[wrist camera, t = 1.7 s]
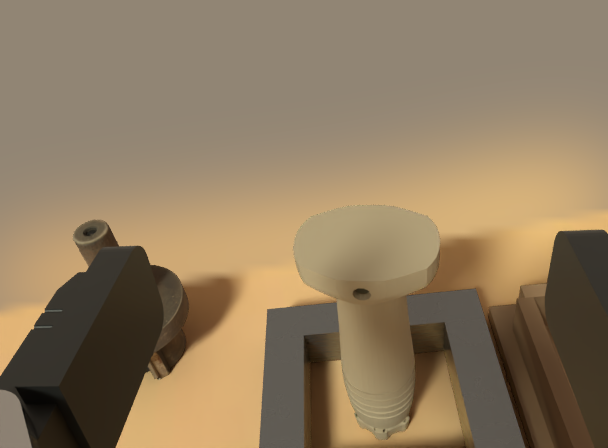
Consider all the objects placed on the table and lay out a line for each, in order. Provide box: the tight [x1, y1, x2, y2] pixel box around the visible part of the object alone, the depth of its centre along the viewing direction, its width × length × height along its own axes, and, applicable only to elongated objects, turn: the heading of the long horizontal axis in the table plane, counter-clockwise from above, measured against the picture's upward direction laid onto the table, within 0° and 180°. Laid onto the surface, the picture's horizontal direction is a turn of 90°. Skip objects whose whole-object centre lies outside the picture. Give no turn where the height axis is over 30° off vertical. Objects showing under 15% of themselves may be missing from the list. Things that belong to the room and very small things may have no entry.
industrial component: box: [73, 220, 189, 380], centre depth 37 cm, size 9×7×12 cm
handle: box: [293, 205, 440, 440], centre depth 30 cm, size 5×6×15 cm
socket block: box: [259, 289, 525, 448], centre depth 34 cm, size 14×14×3 cm
